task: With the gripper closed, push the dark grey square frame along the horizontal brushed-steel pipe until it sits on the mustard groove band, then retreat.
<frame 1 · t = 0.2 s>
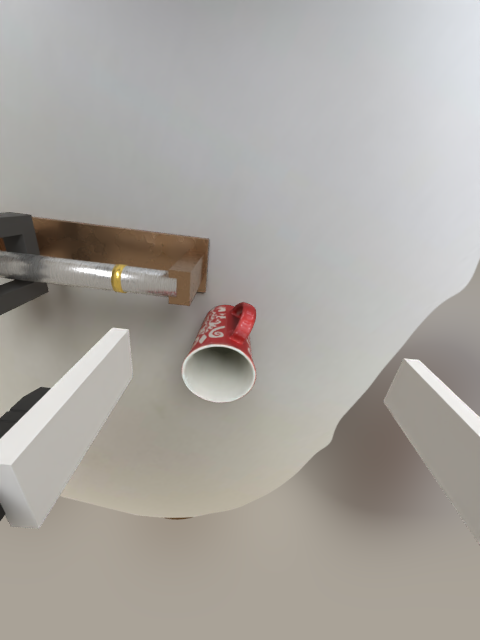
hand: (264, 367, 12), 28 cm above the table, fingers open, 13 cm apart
pipe rig: (110, 254, 38), on the table
mug: (231, 316, 42), on the table
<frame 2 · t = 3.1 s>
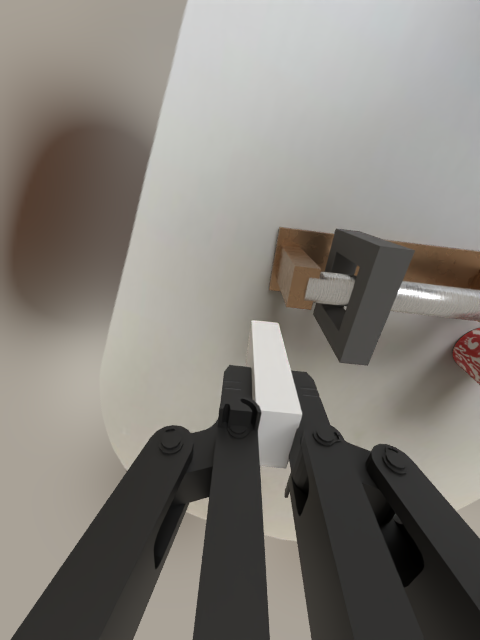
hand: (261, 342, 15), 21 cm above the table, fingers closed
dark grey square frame: (350, 290, 25), point 10 cm above the table, slide at 0.0 cm
pipe rig: (382, 271, 34), on the table
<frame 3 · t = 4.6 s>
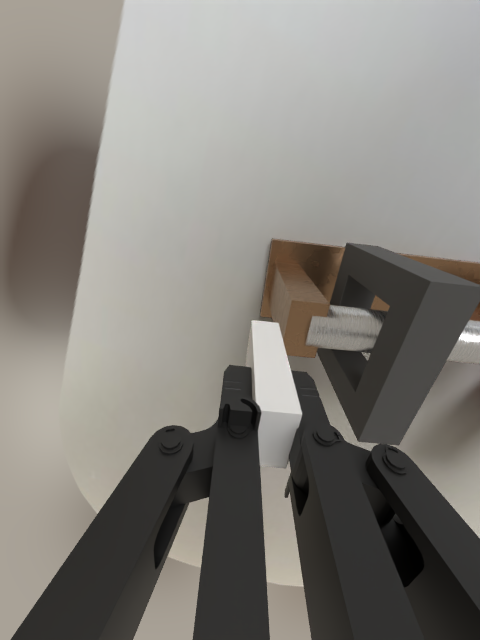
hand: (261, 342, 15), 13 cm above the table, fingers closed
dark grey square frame: (369, 330, 18), point 10 cm above the table, slide at 0.0 cm
pipe rig: (402, 293, 27), on the table
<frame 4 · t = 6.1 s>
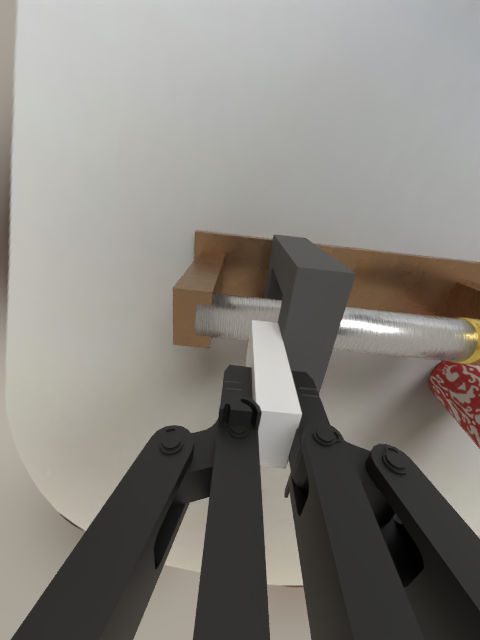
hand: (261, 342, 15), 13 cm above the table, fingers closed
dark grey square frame: (287, 322, 17), point 10 cm above the table, slide at 1.5 cm, touching gripper
pipe rig: (334, 286, 27), on the table
mug: (470, 364, 31), on the table
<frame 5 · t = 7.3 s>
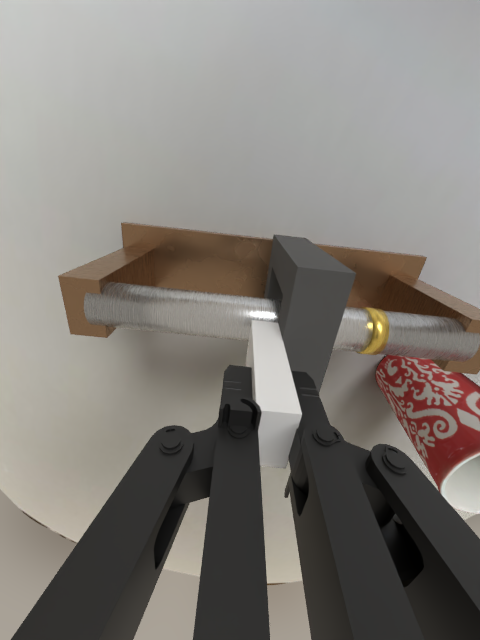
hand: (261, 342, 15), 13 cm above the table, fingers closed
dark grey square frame: (287, 322, 17), point 10 cm above the table, slide at 8.4 cm, touching gripper
pipe rig: (269, 279, 26), on the table
mug: (415, 359, 31), on the table
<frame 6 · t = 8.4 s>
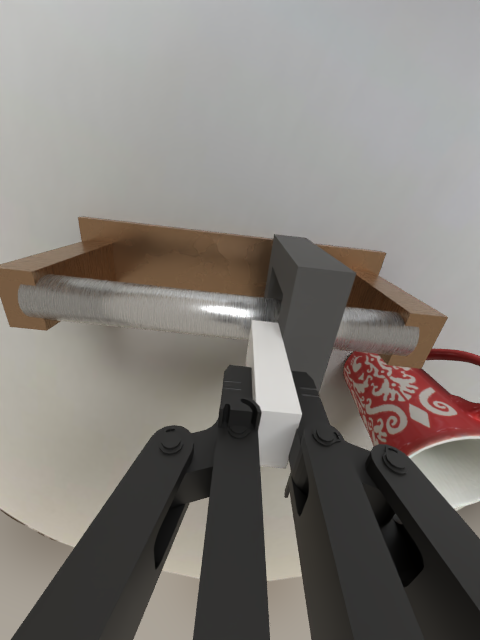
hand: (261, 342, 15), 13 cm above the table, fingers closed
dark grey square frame: (287, 322, 17), point 10 cm above the table, slide at 12.4 cm, touching gripper
pipe rig: (231, 274, 26), on the table
mug: (382, 356, 31), on the table
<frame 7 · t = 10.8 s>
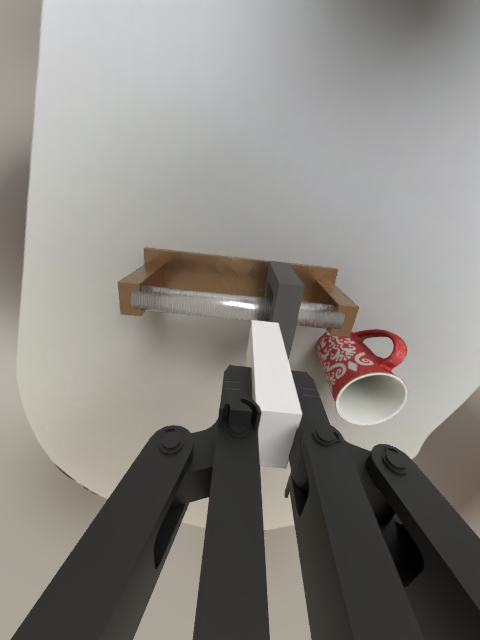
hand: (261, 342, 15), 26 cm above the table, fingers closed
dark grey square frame: (277, 311, 31), point 10 cm above the table, slide at 12.7 cm
pipe rig: (239, 283, 40), on the table
mug: (342, 338, 44), on the table
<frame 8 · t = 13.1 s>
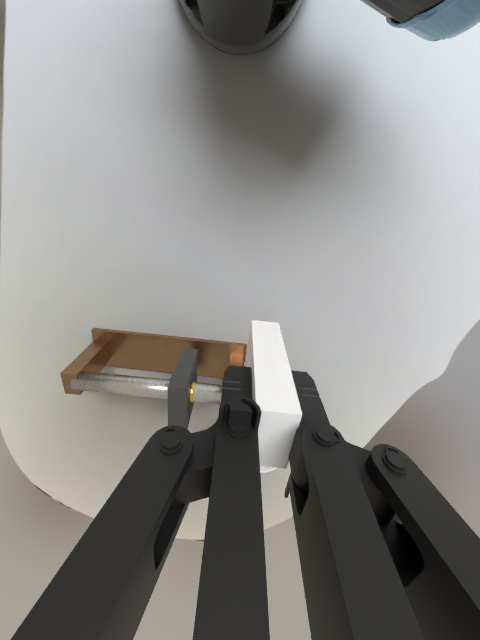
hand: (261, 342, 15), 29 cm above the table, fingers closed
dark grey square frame: (184, 390, 41), point 10 cm above the table, slide at 12.7 cm
pipe rig: (171, 353, 50), on the table
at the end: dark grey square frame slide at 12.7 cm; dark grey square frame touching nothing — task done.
